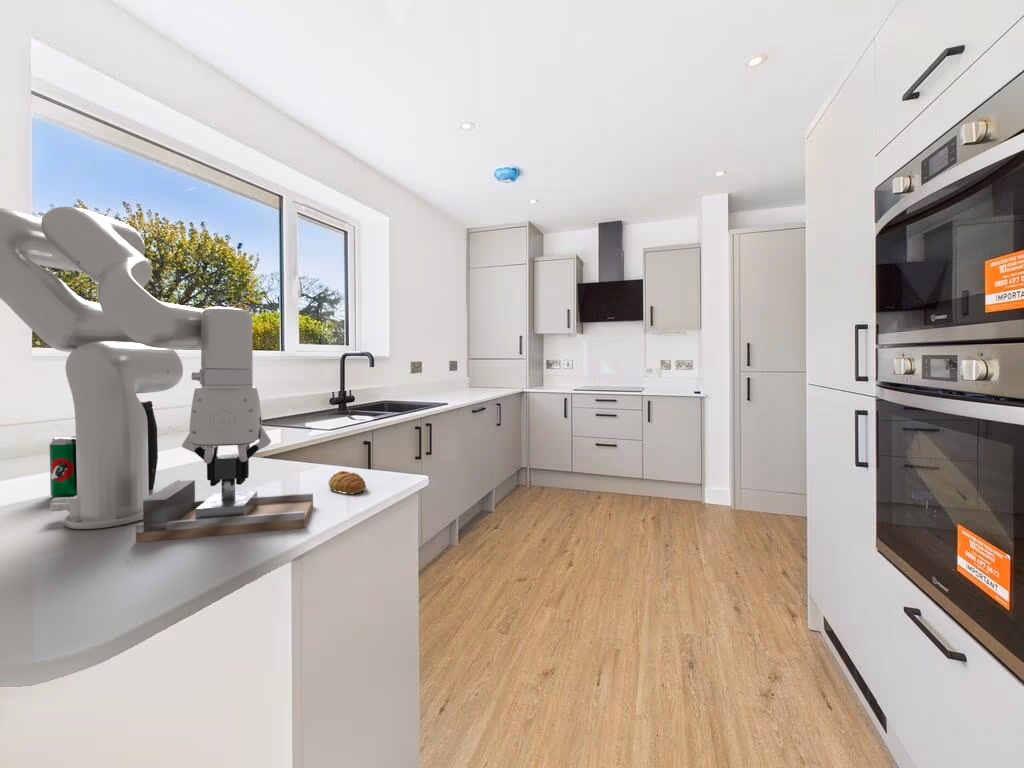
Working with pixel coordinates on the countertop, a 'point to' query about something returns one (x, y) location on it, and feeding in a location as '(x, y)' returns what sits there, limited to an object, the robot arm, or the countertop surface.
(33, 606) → the countertop surface
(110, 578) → the countertop surface
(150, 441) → the portable speaker
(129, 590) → the countertop surface
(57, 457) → the soda can
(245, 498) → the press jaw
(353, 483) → the pastry
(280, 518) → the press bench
